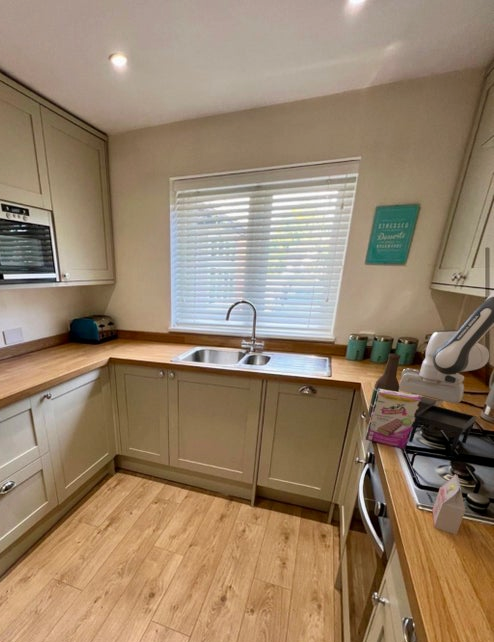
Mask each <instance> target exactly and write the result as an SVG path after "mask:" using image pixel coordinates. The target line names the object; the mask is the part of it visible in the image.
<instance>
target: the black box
mask: <svg viewBox="0 0 494 642" xmlns="http://www.w3.org/2000/svg"><path fill="white" fill-rule="evenodd" d="M420 400H421V401H420V404H419V408H418V411H417V413H419V412H421V411H422V410H424V409H425V408H427V407H429V406H430V405H433V404H434V405H436V404H437V399H434V398H430V397H426V396H420Z"/></svg>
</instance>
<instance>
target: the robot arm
mask: <svg viewBox="0 0 494 642" xmlns="http://www.w3.org/2000/svg"><path fill="white" fill-rule="evenodd" d="M493 327H494V290H492V292H491V293H490V295H488V297H487V298H485V300H484V301H482V303H481V304H480V305H479V306H478V307H477V308H476V309H475V310H474V312H473V313H472V314H471V315H470V316H469V318H468V319H467V320H465V322H463V324H462V326H461V327H460V328H459V329H444V330H443V329H441V330H440V329H439V330H435V331H434V332H433V333H432V334H431V336H430V338H429V340H428V343H427V346H426V349H425V358H424V359H423V360H422V363H421V365H420V366H421V367H420V369H415V368H411V367H408V368H404V369H403V370H402V371H401V375H400V376H401V378H400V381H399V391H400V392H404V393H408V394H414V395H419V396H420V397H426V398H430V399H434V400H437V401H436V404H435V405H434V404H433V405H434V406H438V407H439V406H440V405H441V404H442V403H443V402H445V403H451V404H458V403H460V402H461V401H462V400H463V397H464V391H465V386H464V383H463V382H464V380H465V376H464V375H462V374H461V373H464V372H469V371H476V370H479V369H482V368H483V367H485V366H486V365H487V364H488V363H489V360H490V358H491V354H490V351H489V349H488V347H487V346H485V345H484V344H481V343H479V341H480V340H481V339H482V338H483V337H484V336H485V335H486V334H487V333H488V332H489V331H490V329H492V328H493Z"/></svg>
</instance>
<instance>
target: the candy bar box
mask: <svg viewBox="0 0 494 642" xmlns="http://www.w3.org/2000/svg"><path fill="white" fill-rule="evenodd" d="M420 397H421V395H414V394H411V393H409V392H403V391H399V392H396V391H390V390H385V389H378V391H377V395H376V399H375V403H374V407H373V411H372V414H371V418H370V417H369V422H368V426H367V429H366V430H367V431H366V435H365V441H368V442H373V443H378V444H381V445H386V446H390V447H395V448H399V449H403V450H406V448H407V445H408V443H409V438H410V435H411V431H412V428H413V425H414V421H415V417H416V414H417V411H418V408H419V404H420V401H421V400H420Z"/></svg>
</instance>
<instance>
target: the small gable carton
mask: <svg viewBox="0 0 494 642" xmlns="http://www.w3.org/2000/svg"><path fill="white" fill-rule="evenodd" d="M461 487H462V486H461V483H460V480H459V476H458V474H456V473H454V475H453V476H452V477H451V478H450V479H449V480H448V481H446V482H444V484H442V485H441V486H440V487H439V490H438V491H437V495H436V498H435V501H434V502H433V507H432V520H433V528H434V529H437V530H440V531H444V532H447V533H449V534H453V535H457V534H458V531H459V529H460V526H461V524H462V521H463V518H464V516H465V513H466V507H465V506H466V505H465V502H464V498H463V493H462V488H461Z"/></svg>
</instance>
